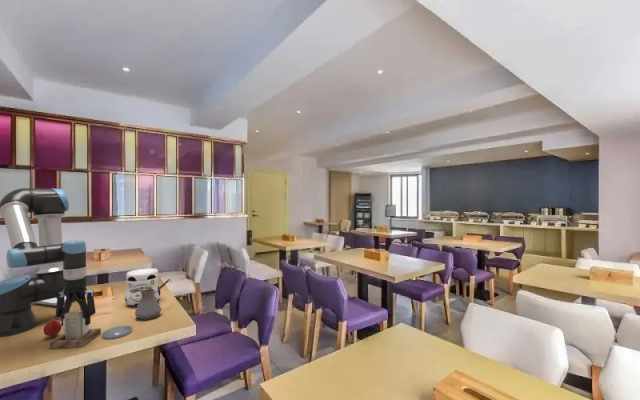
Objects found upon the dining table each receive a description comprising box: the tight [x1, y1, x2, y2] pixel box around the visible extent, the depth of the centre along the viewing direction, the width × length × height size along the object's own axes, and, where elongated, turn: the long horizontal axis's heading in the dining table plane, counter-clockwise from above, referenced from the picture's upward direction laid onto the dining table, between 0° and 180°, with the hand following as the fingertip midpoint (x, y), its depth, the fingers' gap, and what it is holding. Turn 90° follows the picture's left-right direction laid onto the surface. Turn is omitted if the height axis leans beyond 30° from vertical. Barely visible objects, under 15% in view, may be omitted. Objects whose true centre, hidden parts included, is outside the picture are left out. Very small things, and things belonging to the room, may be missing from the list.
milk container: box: [124, 267, 161, 307], centre depth 172 cm, size 17×17×18 cm
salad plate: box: [32, 296, 66, 307], centre depth 179 cm, size 21×21×3 cm
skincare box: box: [65, 310, 87, 340], centre depth 127 cm, size 6×4×12 cm
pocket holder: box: [48, 328, 102, 350], centre depth 127 cm, size 12×12×2 cm
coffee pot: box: [134, 278, 172, 321], centre depth 158 cm, size 21×12×15 cm, turn 166°
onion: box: [43, 318, 63, 338], centre depth 131 cm, size 6×6×8 cm
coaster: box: [101, 325, 133, 340], centre depth 134 cm, size 11×11×1 cm
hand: (76, 332), depth 127 cm, fingers closed on skincare box, 7 cm apart
